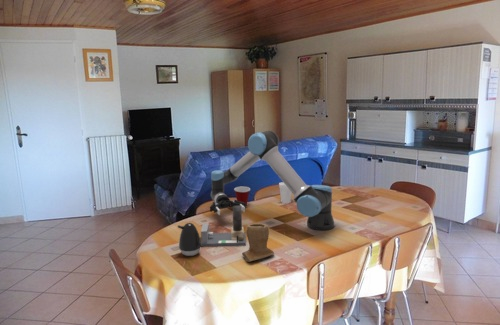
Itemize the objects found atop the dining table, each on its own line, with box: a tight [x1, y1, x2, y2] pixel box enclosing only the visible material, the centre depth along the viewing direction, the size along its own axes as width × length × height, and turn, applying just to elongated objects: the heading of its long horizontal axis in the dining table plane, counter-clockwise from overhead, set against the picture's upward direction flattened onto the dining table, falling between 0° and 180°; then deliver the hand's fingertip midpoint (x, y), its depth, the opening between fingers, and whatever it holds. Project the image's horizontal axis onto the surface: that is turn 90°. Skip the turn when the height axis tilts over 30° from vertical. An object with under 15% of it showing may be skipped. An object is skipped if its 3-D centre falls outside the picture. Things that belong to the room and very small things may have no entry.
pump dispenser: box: [177, 222, 201, 257], centre depth 175 cm, size 10×10×15 cm
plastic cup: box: [233, 186, 251, 207], centre depth 249 cm, size 11×11×12 cm
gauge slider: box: [230, 206, 245, 243], centre depth 188 cm, size 6×12×16 cm, turn 1°
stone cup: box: [241, 223, 275, 263], centre depth 171 cm, size 15×12×15 cm
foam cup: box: [278, 181, 293, 204], centre depth 256 cm, size 10×9×13 cm
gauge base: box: [200, 222, 247, 248], centre depth 191 cm, size 22×14×8 cm, turn 91°
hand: (232, 211), depth 198 cm, fingers open, 13 cm apart
